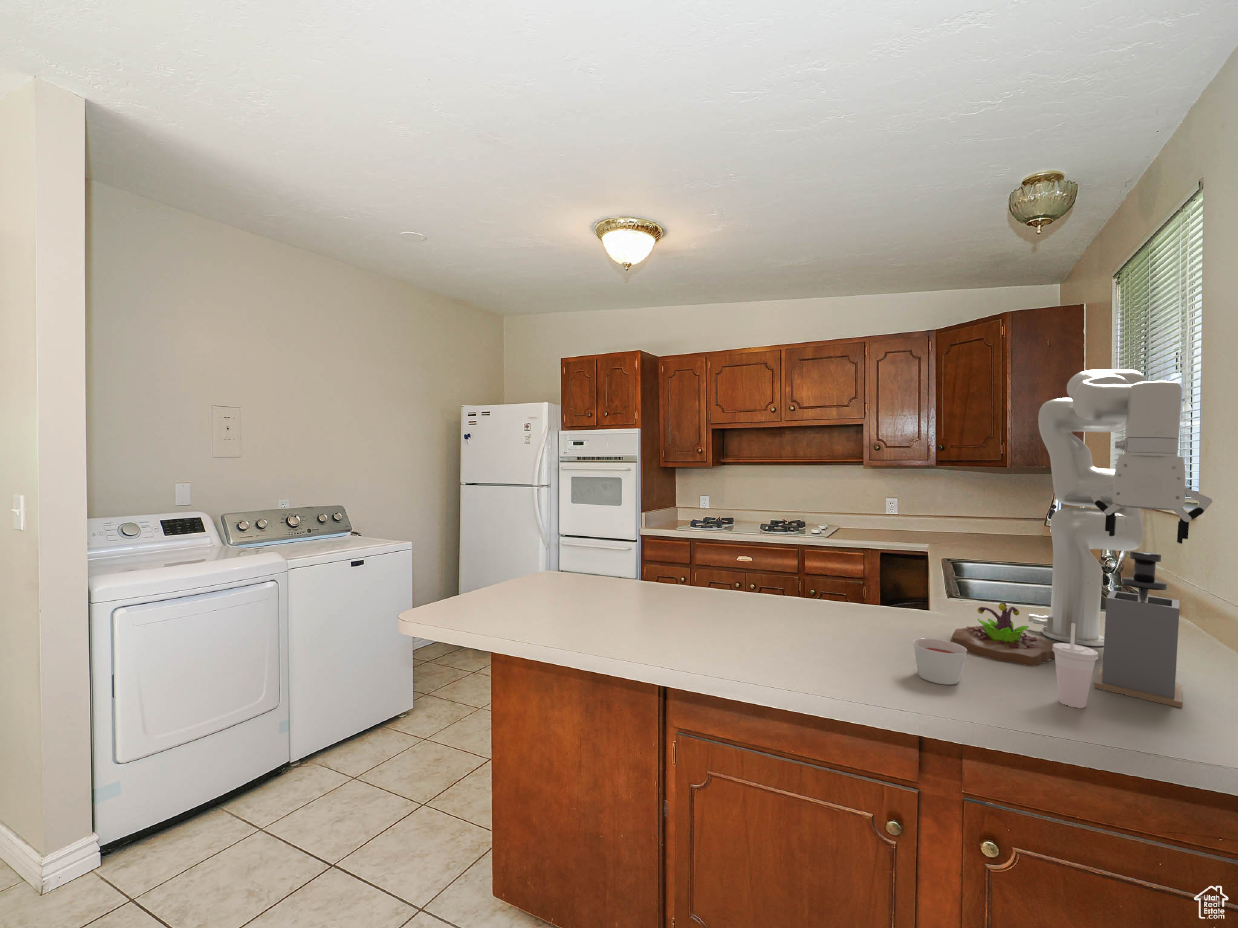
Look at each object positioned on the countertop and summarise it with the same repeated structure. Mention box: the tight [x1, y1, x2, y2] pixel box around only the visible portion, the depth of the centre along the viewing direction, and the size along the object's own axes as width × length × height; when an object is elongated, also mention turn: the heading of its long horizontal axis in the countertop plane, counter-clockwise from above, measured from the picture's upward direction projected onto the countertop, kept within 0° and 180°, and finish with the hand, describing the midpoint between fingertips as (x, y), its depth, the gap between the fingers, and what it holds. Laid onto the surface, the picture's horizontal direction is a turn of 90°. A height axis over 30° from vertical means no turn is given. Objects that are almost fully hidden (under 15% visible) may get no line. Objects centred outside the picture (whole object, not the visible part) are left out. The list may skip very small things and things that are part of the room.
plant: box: [951, 601, 1055, 667], centre depth 135 cm, size 20×20×11 cm
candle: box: [913, 637, 968, 686], centre depth 115 cm, size 9×9×6 cm
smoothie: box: [1052, 623, 1099, 709], centre depth 105 cm, size 6×6×14 cm
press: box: [1093, 590, 1183, 709], centre depth 113 cm, size 12×12×17 cm
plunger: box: [1121, 550, 1168, 603], centre depth 113 cm, size 7×7×24 cm
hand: (1144, 539), depth 113 cm, fingers open, 9 cm apart
